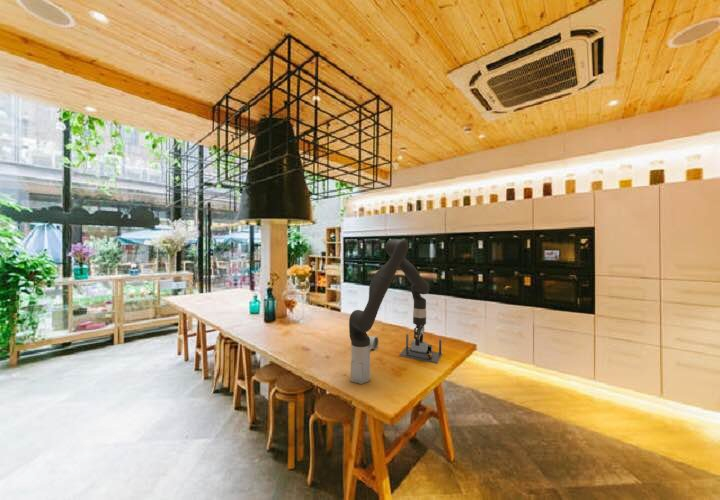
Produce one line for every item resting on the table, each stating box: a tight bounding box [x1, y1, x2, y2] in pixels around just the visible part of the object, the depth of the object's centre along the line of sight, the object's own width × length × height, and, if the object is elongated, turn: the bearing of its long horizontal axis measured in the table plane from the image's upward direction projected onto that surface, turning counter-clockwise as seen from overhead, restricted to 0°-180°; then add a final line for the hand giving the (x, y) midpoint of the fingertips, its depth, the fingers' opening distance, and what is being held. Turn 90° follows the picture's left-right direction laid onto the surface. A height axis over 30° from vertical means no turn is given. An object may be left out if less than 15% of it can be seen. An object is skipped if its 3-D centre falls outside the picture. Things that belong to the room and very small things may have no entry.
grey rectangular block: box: [410, 339, 429, 354], centre depth 157 cm, size 3×9×8 cm, turn 64°
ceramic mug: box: [368, 335, 380, 351], centre depth 170 cm, size 11×8×8 cm
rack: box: [398, 334, 443, 364], centre depth 160 cm, size 14×22×9 cm, turn 63°
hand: (419, 343), depth 157 cm, fingers open, 8 cm apart
